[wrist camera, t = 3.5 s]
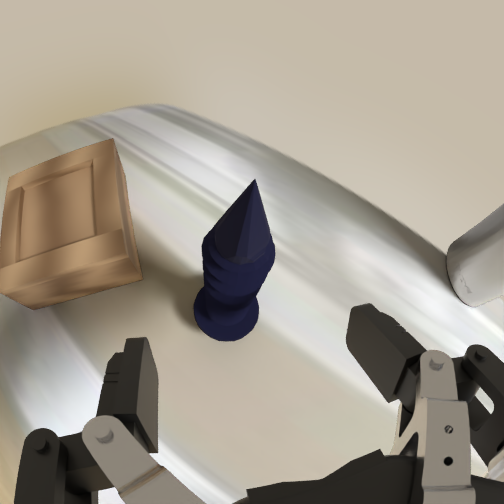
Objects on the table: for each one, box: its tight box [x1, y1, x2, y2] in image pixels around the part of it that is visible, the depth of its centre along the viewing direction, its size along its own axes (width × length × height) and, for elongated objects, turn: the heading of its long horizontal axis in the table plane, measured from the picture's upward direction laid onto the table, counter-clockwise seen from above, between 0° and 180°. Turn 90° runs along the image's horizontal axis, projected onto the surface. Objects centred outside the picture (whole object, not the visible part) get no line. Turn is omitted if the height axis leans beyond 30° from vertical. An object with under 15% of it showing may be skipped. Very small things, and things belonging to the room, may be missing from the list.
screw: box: [194, 179, 275, 341], centre depth 16 cm, size 18×5×5 cm
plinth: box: [0, 138, 143, 310], centre depth 22 cm, size 12×12×6 cm
